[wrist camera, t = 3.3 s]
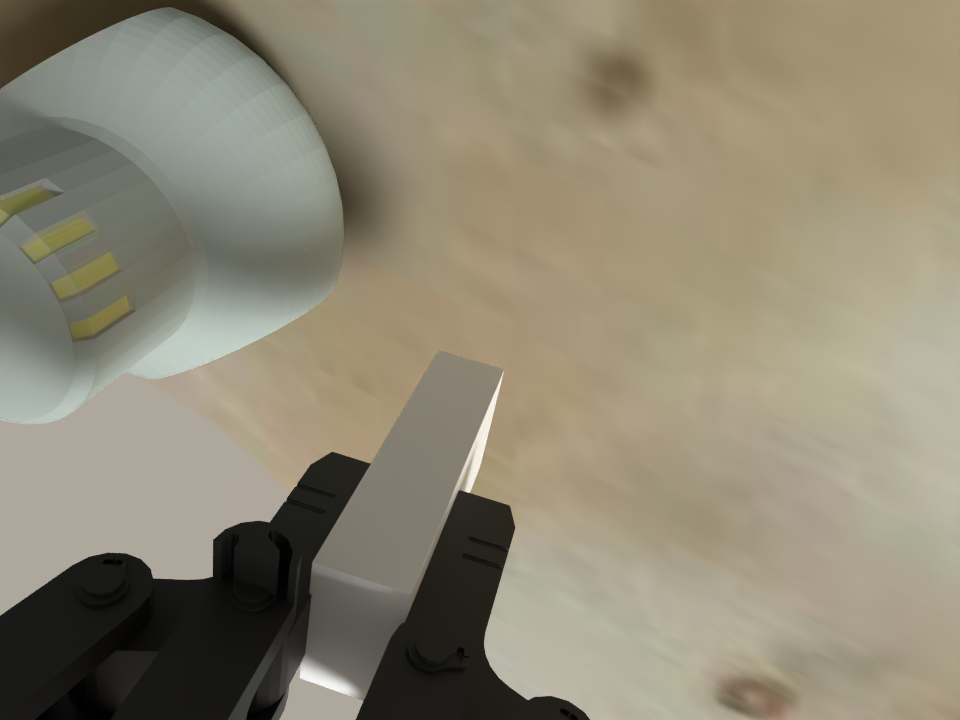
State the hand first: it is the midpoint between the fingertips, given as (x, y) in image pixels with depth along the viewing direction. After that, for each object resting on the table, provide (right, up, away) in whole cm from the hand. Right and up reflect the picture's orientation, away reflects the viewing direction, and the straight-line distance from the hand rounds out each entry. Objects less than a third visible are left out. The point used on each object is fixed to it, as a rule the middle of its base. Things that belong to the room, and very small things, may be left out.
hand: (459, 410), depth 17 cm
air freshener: (-8, +7, +7) cm, 13 cm away
